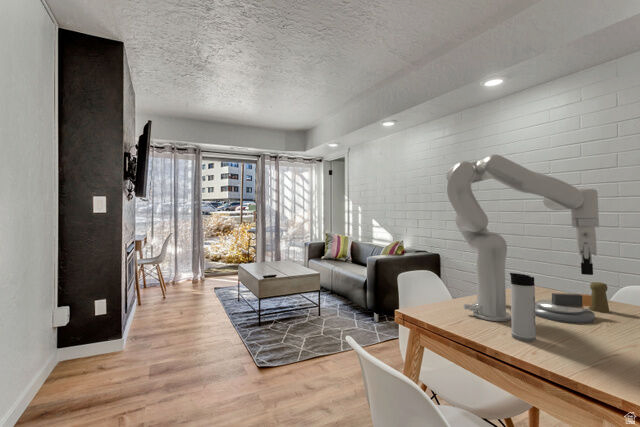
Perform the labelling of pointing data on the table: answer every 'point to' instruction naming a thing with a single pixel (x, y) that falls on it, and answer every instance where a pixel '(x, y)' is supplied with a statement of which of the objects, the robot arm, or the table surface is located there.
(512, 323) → the travel mug
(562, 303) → the dial
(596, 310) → the cork
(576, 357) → the table surface
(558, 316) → the dial base
